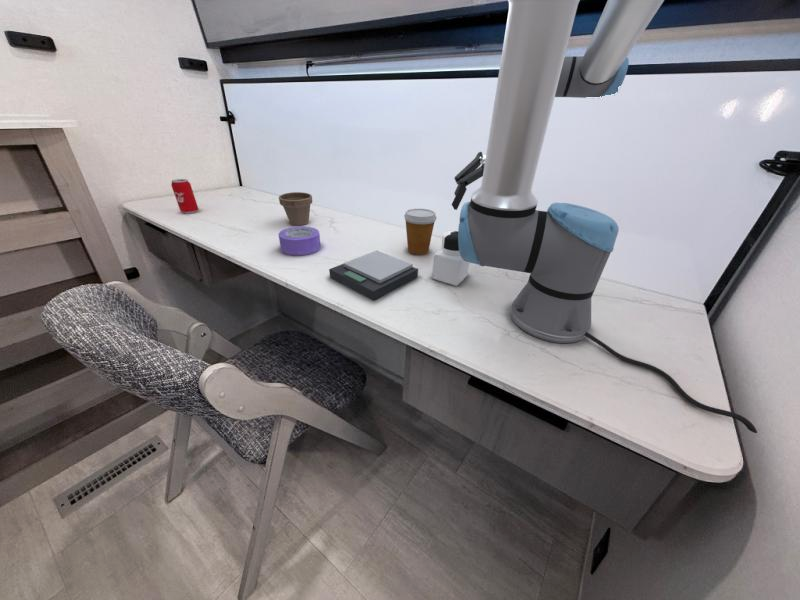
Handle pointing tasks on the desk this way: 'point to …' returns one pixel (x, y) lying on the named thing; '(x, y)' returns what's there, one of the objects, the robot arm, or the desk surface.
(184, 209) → the beverage can
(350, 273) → the scale
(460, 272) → the medicine bottle
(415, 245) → the disposable coffee cup
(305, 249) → the tape roll
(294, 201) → the flower pot
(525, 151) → the robot arm
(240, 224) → the desk surface
